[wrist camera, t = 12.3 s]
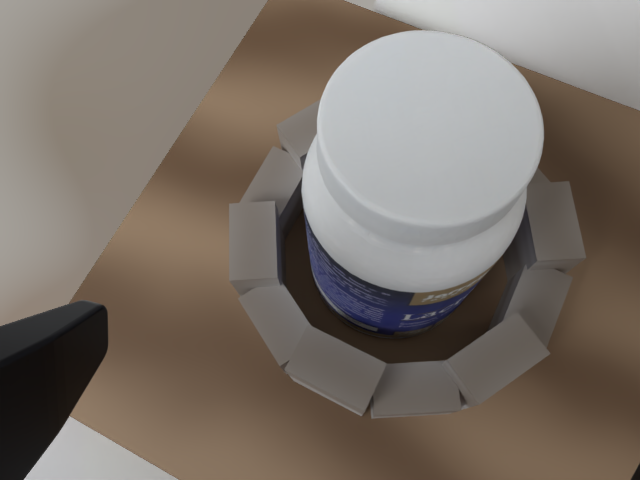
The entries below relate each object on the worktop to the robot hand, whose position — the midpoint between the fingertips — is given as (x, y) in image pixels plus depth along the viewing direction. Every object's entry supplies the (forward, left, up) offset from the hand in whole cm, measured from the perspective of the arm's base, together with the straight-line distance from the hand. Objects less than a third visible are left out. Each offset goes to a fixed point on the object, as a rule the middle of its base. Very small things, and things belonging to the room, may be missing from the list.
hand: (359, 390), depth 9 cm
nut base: (+6, +1, -12) cm, 13 cm away
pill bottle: (+6, +1, -11) cm, 12 cm away
